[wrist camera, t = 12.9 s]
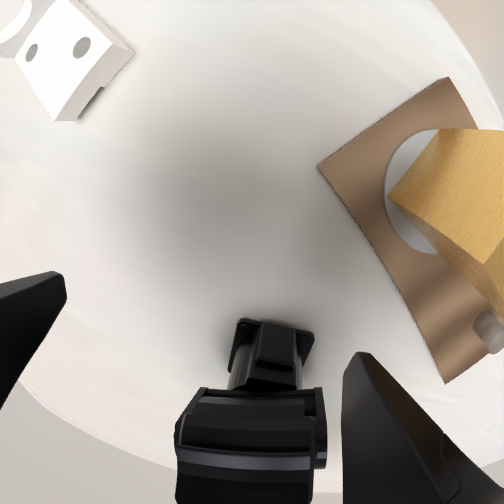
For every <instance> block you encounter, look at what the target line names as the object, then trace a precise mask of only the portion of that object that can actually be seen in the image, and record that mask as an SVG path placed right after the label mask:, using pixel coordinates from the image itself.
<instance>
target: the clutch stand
mask: <svg viewBox="0 0 504 504" xmlns="http://www.w3.org/2000/svg"><path fill="white" fill-rule="evenodd" d="M439 129H478V128H477V126H476V124H475V122H474V120H473V118H472V116H471V114H470V112H469V110H468V108H467V106H466V105H465V103H464V101H463V99H462V98H461V96H460V94H459V92H458V91H457V89H456V88H455V86H454V84H453V83H452V81H451V79H450V78H449V77H446V78H442V79H439V80H437V81H436V82H434V83H433V84H431V85H430V86H429V87H427V88H426V89H424V90H423V91H421V92H420V93H418V94H417V95H415V96H414V97H412V98H411V99H409V100H408V101H406V102H405V103H404V104H402V105H401V106H399V107H398V108H396V109H395V110H393V111H392V112H391V113H389V114H388V115H386V116H385V117H383V118H382V119H381V120H379V121H378V122H376V123H375V124H374V125H372V126H371V127H369V128H368V129H366V130H365V131H364V132H362V133H361V134H359V135H358V136H357V137H355V138H354V139H353V140H351V141H350V142H348V143H347V144H346V145H344V146H343V147H342V148H340V149H339V150H337V151H336V152H335V153H333V154H332V155H331V156H329V157H328V158H327V159H325V160H324V161H322V162H321V163H320V164H318V165H317V167H318V169H319V170H320V171H321V172H322V174H323V175H324V176H325V178H326V179H327V181H328V182H329V183H330V185H331V186H332V187H333V189H334V190H335V191H336V193H337V194H338V196H339V197H340V198H341V200H342V201H343V203H344V204H345V206H346V207H347V208H348V210H349V211H350V213H351V214H352V216H353V217H354V219H355V220H356V222H357V223H358V225H359V226H360V228H361V229H362V231H363V232H364V234H365V235H366V237H367V238H368V240H369V242H370V243H371V245H372V246H373V248H374V250H375V251H376V253H377V254H378V256H379V258H380V259H381V261H382V263H383V264H384V266H385V268H386V269H387V271H388V273H389V274H390V276H391V278H392V279H393V281H394V283H395V285H396V286H397V288H398V290H399V292H400V294H401V295H402V297H403V299H404V301H405V303H406V305H407V306H408V308H409V310H410V312H411V314H412V316H413V318H414V320H415V322H416V324H417V326H418V328H419V330H420V332H421V334H422V336H423V338H424V340H425V342H426V344H427V346H428V348H429V350H430V352H431V355H432V357H433V359H434V361H435V363H436V366H437V368H438V370H439V373H440V375H441V377H442V379H443V381H444V383H445V384H447V383H448V382H450V381H451V380H453V379H454V378H456V377H457V376H459V375H460V374H462V373H463V372H464V371H466V370H467V369H469V368H470V367H471V366H473V365H474V364H475V363H477V362H478V361H479V360H481V359H482V358H483V357H485V356H486V355H487V354H488V353H491V354H496V353H498V352H499V351H500V350H501V349H502V348H503V347H504V319H503V318H502V317H501V316H500V315H499V313H498V312H497V311H496V310H495V309H494V308H493V307H492V306H491V305H490V304H489V302H488V301H487V300H486V299H485V298H484V297H483V296H482V295H481V294H480V293H479V292H478V291H477V290H476V289H475V288H474V287H473V286H472V285H471V284H470V283H469V282H468V281H467V280H466V279H465V278H464V277H463V276H462V275H461V274H460V273H459V272H458V271H457V270H456V269H455V268H454V267H453V266H452V265H451V264H449V263H448V262H447V261H446V260H445V259H444V258H443V257H442V256H441V255H440V254H439V253H438V252H437V251H436V250H435V248H434V247H433V246H432V245H431V244H430V243H429V241H428V240H427V239H426V238H425V237H424V236H423V235H422V233H421V232H420V231H419V230H418V229H417V228H416V227H415V226H414V224H413V223H412V222H411V221H410V220H409V219H408V218H407V217H406V216H405V215H404V214H403V213H402V212H401V210H400V209H399V208H398V207H397V206H396V205H395V204H394V203H393V202H392V201H391V200H390V199H389V198H388V197H387V195H388V194H389V192H390V191H391V190H392V189H393V188H394V186H395V185H396V184H397V183H398V181H399V180H400V179H401V178H402V177H403V175H404V174H405V173H406V172H407V170H408V169H409V168H410V167H411V165H412V164H413V163H414V162H415V160H416V159H417V158H418V156H419V155H420V154H421V153H422V151H423V150H424V149H425V147H426V146H427V145H428V143H429V142H430V141H431V139H432V138H433V137H434V135H435V134H436V133H437V131H438V130H439Z"/></svg>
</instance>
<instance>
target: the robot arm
mask: <svg viewBox="0 0 504 504" xmlns="http://www.w3.org/2000/svg"><path fill="white" fill-rule="evenodd" d="M66 300H67V293H66V287H65V281H64V277H63V275H62V274H60V273H58V272H55V271H50V272H45V273H41V274H37V275H33V276H29V277H25V278H21V279H17V280H13V281H9V282H5V283H1V284H0V410H1V407H2V406H3V404H4V402H5V401H6V399H7V397H8V395H9V394H10V392H11V390H12V388H13V387H14V385H15V383H16V382H17V380H18V378H19V377H20V375H21V373H22V372H23V370H24V369H25V367H26V366H27V364H28V362H29V361H30V359H31V358H32V356H33V355H34V353H35V352H36V350H37V349H38V347H39V346H40V344H41V343H42V342H43V340H44V338H45V337H46V335H47V334H48V332H49V330H50V328H51V327H52V325H53V323H54V321H55V320H56V318H57V316H58V315H59V313H60V311H61V310H62V308H63V307H64V305H65V303H66ZM241 324H245V325H246V326H242V325H241ZM306 338H311V339H306ZM314 340H315V338H314V334H313V333H310V332H305V331H300V330H295V329H291V328H286V327H281V326H276V325H272V324H267V323H261V322H257V321H252V320H248V319H240V320H239V321H238V324H237V328H236V333H235V337H234V342H233V347H232V351H231V356H230V361H229V365H228V372H229V373H231V374H230V378H229V382H228V386H227V390H220V389H208V388H207V387H200V389H199V390H198V391H197V393H196V394H195V396H194V397H193V399H192V400H191V401H190V403H189V404H188V406H187V407H186V409H185V410H184V411H183V413H182V414H181V416H180V417H179V419H178V421H177V422H176V424H175V432H174V447H175V452H176V456H177V472H178V473H177V484H176V492H175V499H176V502H177V504H310V503H311V501H312V496H313V478H314V469H325V467H326V461H327V421H326V413H325V406H324V399H323V392H322V387H314V389H302V368H303V366H304V363H305V361H306V359H307V357H308V354H309V352H310V350H311V348H312V345H313V343H314ZM341 436H342V461H343V504H504V488H502V487H500V486H499V485H498V484H496V483H495V482H494V481H493V480H492V479H491V478H490V477H489V476H488V475H487V474H485V473H484V472H483V471H482V470H481V469H480V468H479V467H478V466H477V465H476V464H475V463H473V462H472V461H471V460H470V459H469V458H468V457H467V456H466V455H465V454H464V453H463V452H462V451H461V450H460V449H459V448H458V447H457V446H456V445H455V444H454V443H453V441H452V440H451V439H450V438H449V437H448V436H447V435H446V434H445V433H443V431H442V429H441V428H440V427H439V426H438V425H437V424H436V423H435V422H434V421H433V420H432V419H431V417H430V416H429V415H428V414H427V413H426V412H425V411H424V410H423V409H422V408H421V407H420V406H419V404H418V403H417V402H416V401H415V400H414V399H413V398H412V397H411V396H410V395H409V394H408V393H407V392H406V391H405V389H404V388H403V387H402V386H401V385H400V384H399V383H398V382H397V381H396V380H395V379H394V378H393V377H392V376H391V375H390V373H389V372H388V371H387V370H386V369H385V368H384V367H383V366H382V365H381V364H380V363H379V362H378V361H377V360H376V359H375V358H374V357H373V356H372V355H371V354H370V353H366V352H356V353H355V354H354V356H353V358H352V359H351V361H350V363H349V365H348V366H347V368H346V370H345V372H344V375H343V391H342V412H341Z"/></svg>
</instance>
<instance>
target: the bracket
mask: <svg viewBox="0 0 504 504" xmlns="http://www.w3.org/2000/svg"><path fill="white" fill-rule="evenodd" d="M134 55H135V53H134V52H133V51H132V50H131V49H130V48H129V47H128V46H127V45H126V44H125V43H124V42H123V41H122V40H121V39H120V38H119V37H118V36H117V35H116V34H115V33H114V32H113V31H112V30H111V29H110V28H109V27H108V26H107V25H105V24H104V23H103V22H102V21H101V20H100V19H99V18H98V17H97V16H96V15H95V14H94V13H93V12H91V11H90V10H89V9H88V8H87V7H86V6H85V5H84V4H83V3H81V2H80V1H79V0H25V2H24V5H23V8H22V10H21V11H20V13H19V14H18V16H17V17H16V18H15V20H14V21H13V22H12V23H11V24H10V25H8V26H7V27H6V28H4V29H3V30H1V31H0V57H6V58H15V60H16V62H17V63H18V65H19V67H20V69H21V70H22V72H23V74H24V75H25V77H26V79H27V80H28V82H29V84H30V85H31V87H32V88H33V90H34V92H35V93H36V95H37V96H38V98H39V99H40V101H41V103H42V104H43V106H44V107H45V109H46V110H47V112H48V113H49V115H50V116H51V118H52V119H53V121H75V120H76V119H77V117H78V116H79V114H80V113H81V112H82V110H83V109H84V108H85V106H86V105H87V103H88V102H89V101H90V99H91V98H92V97H93V96H94V94H95V93H96V92H97V90H98V89H99V88H100V87H106V86H107V85H108V84H109V82H110V81H111V80H112V79H113V78H114V77H115V75H116V74H117V73H118V72H119V71H120V70H121V69H122V68H123V67H124V65H125V64H126V63H127V62H128V61H129V60H130V59H131V58H132V57H133V56H134Z"/></svg>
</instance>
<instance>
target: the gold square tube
mask: <svg viewBox="0 0 504 504" xmlns="http://www.w3.org/2000/svg"><path fill="white" fill-rule="evenodd" d="M387 197H388V198H389V199H390V200H391V201H392V202H393V203H394V204H395V205H396V206H397V207H398V208H399V209H400V210H401V212H402V213H403V214H404V215H405V216H406V217H407V218H408V219H409V220H410V221H411V222H412V223H413V224H414V226H415V227H416V228H417V229H418V230H419V231H420V232H421V233H422V235H423V236H424V237H425V238H426V239H427V240H428V241H429V243H430V244H431V245H432V246H433V247H434V248H435V250H436V251H437V252H438V253H439V254H440V255H441V256H442V257H443V258H444V259H445V260H446V261H447V262H448V263H449V264H451V265H452V266H453V267H454V268H455V269H456V270H457V271H458V272H459V273H460V274H461V275H462V276H463V277H464V278H465V279H466V280H467V281H468V282H469V283H470V284H471V285H472V286H473V287H474V288H475V289H476V290H477V291H478V292H479V293H480V294H481V295H482V296H483V297H484V298H485V299H486V300H487V301H488V302H489V304H490V305H491V306H492V307H493V308H494V309H495V310H496V311H497V312H498V313H499V315H500V316H501V317H502V318H503V319H504V131H498V130H482V129H439V130H438V131H437V133H436V134H435V135H434V137H433V138H432V139H431V141H430V142H429V143H428V145H427V146H426V147H425V149H424V150H423V151H422V153H421V154H420V155H419V156H418V158H417V159H416V160H415V162H414V163H413V164H412V165H411V167H410V168H409V169H408V170H407V172H406V173H405V174H404V175H403V177H402V178H401V179H400V180H399V181H398V183H397V184H396V185H395V186H394V188H393V189H392V190H391V191H390V192H389V194H388V195H387Z"/></svg>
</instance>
